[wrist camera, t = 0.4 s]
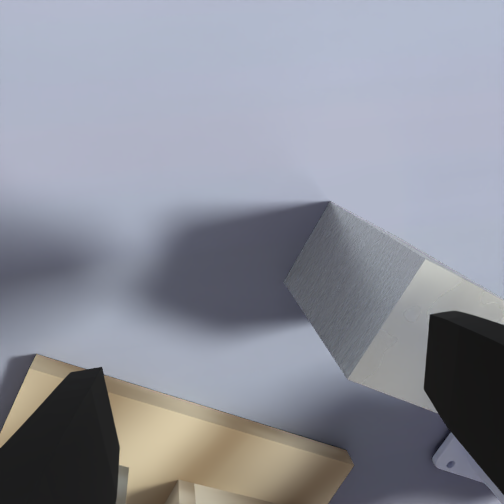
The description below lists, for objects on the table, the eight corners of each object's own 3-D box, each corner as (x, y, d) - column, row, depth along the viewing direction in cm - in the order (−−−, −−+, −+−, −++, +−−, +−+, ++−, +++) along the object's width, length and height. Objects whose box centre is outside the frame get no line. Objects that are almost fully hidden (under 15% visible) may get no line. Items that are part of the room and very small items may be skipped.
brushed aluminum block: (402, 239, 19) (525, 311, 13) (355, 313, 20) (448, 417, 13) (330, 200, 18) (425, 258, 11) (283, 281, 19) (347, 379, 12)
